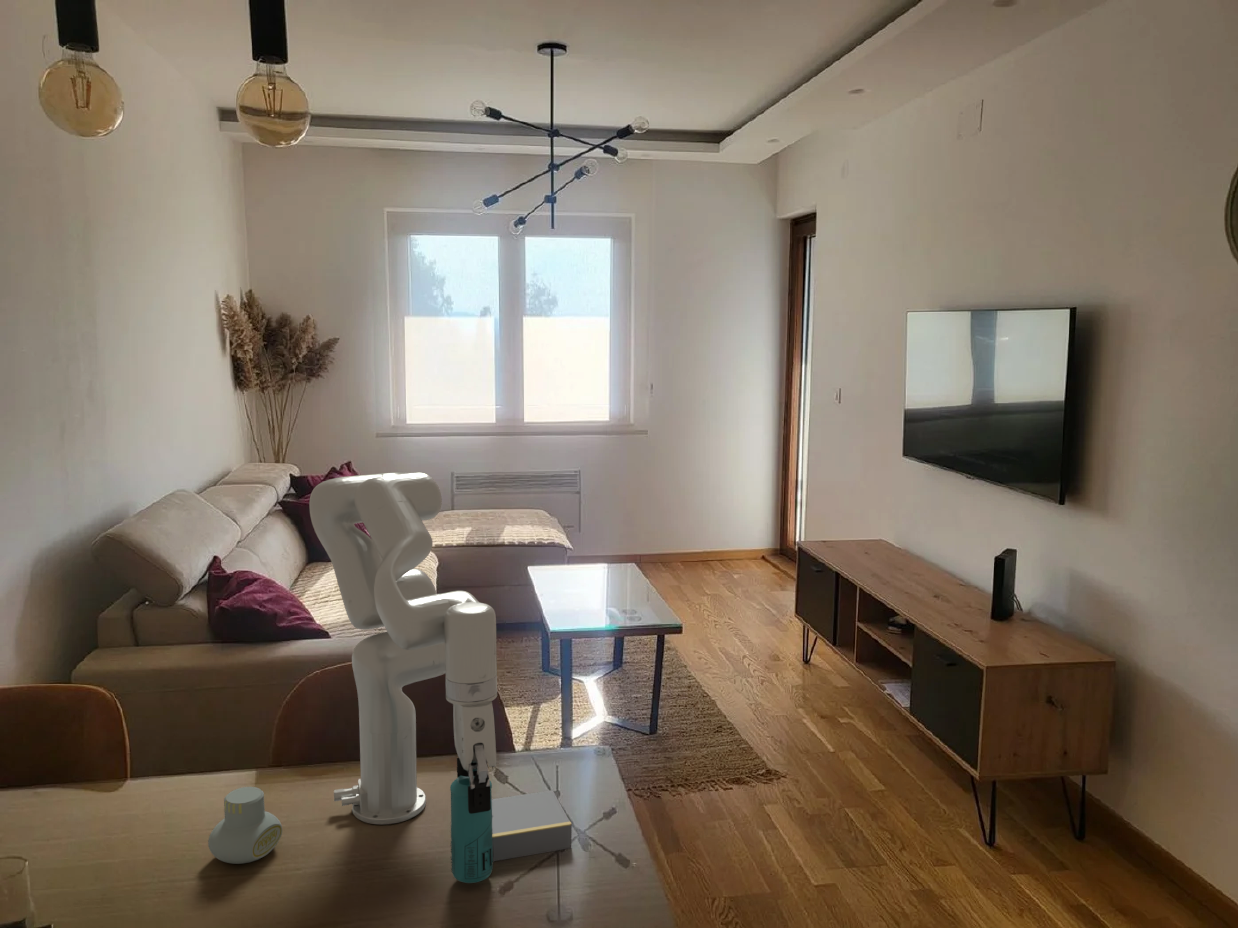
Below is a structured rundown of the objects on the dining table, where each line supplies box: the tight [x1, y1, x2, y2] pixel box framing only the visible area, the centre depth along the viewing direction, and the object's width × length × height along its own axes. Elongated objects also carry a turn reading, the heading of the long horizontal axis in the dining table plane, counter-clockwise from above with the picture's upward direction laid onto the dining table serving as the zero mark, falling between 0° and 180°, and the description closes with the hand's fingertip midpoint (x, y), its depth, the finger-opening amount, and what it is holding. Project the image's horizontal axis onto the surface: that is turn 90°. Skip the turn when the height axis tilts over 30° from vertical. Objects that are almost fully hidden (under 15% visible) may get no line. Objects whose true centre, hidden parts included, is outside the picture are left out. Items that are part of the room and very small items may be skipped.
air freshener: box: [207, 786, 283, 865], centre depth 146 cm, size 11×8×10 cm
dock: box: [492, 789, 573, 862], centre depth 153 cm, size 14×12×4 cm
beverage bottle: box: [449, 757, 495, 884], centre depth 139 cm, size 6×7×20 cm
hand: (473, 795), depth 138 cm, fingers open, 9 cm apart
